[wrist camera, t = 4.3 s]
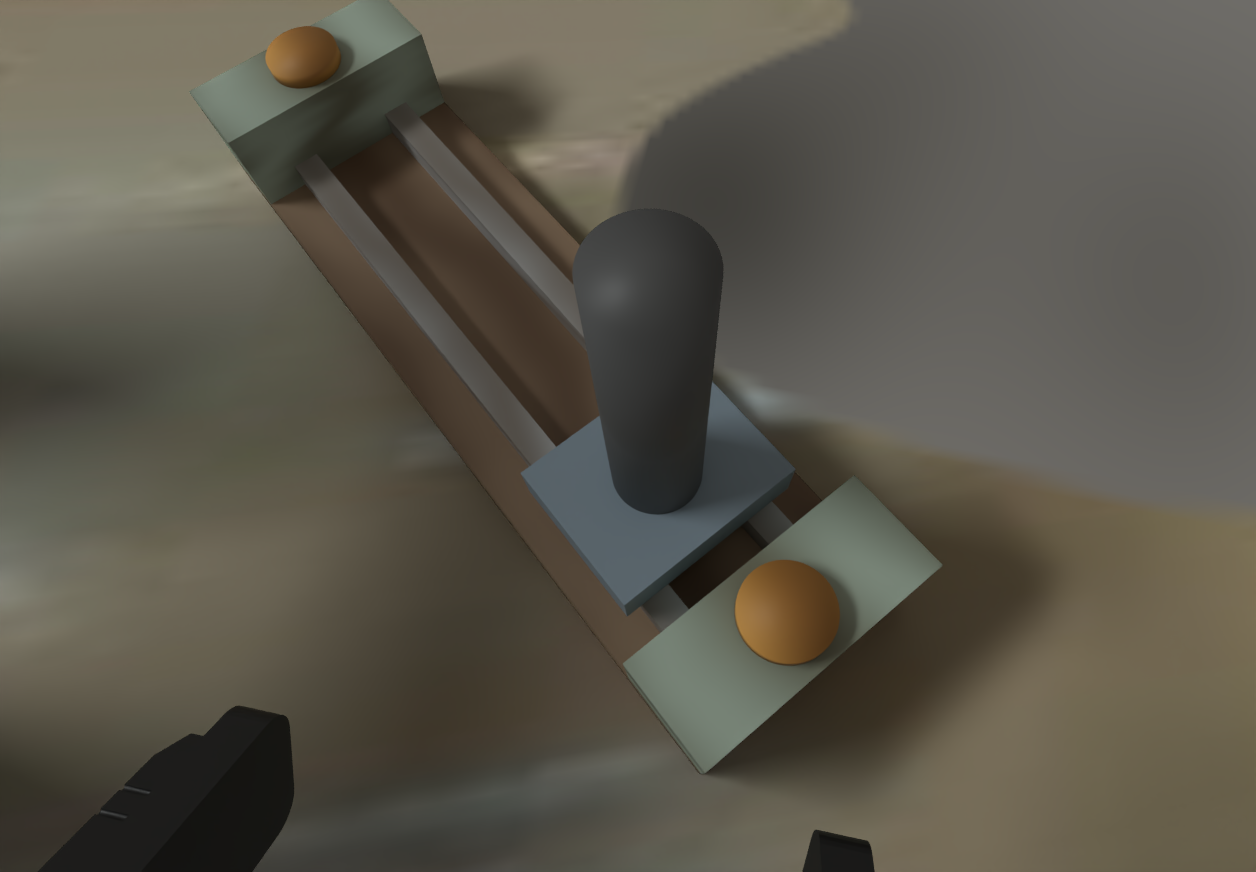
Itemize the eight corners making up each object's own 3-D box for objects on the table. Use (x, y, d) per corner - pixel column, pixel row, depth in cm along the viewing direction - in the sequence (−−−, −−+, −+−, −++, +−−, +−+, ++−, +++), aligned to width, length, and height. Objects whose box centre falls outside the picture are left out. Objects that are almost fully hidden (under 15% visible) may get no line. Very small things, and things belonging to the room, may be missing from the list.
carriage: (627, 616, 28) (589, 478, 15) (529, 491, 30) (422, 275, 17) (787, 488, 29) (879, 263, 16) (684, 378, 31) (693, 101, 18)
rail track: (699, 773, 28) (706, 772, 23) (248, 176, 41) (181, 80, 35) (897, 600, 30) (948, 560, 25) (412, 82, 43) (373, -23, 37)
